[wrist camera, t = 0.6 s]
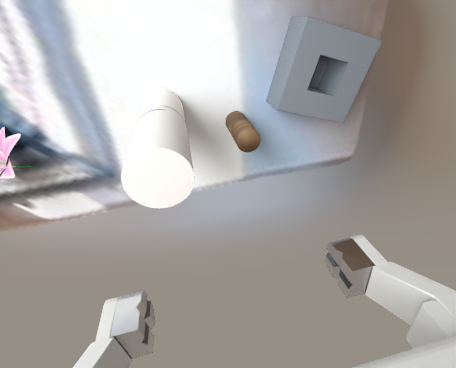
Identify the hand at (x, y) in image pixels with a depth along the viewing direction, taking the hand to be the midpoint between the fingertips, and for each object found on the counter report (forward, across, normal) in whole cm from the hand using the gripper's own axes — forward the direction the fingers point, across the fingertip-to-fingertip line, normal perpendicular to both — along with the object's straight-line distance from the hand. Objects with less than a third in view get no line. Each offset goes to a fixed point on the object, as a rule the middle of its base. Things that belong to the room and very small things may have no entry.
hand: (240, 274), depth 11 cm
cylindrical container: (+41, +5, +3) cm, 41 cm away
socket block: (+41, -24, +2) cm, 47 cm away
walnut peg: (+41, -8, +8) cm, 42 cm away
